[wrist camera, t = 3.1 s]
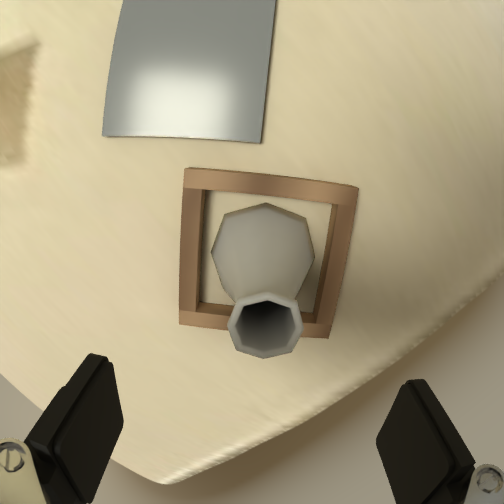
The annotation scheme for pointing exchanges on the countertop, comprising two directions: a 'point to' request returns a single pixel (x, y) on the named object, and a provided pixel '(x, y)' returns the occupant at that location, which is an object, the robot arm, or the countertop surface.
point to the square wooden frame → (269, 185)
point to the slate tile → (189, 69)
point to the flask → (263, 276)
